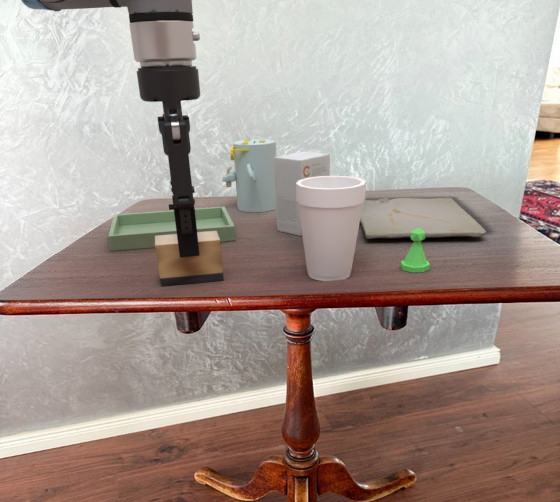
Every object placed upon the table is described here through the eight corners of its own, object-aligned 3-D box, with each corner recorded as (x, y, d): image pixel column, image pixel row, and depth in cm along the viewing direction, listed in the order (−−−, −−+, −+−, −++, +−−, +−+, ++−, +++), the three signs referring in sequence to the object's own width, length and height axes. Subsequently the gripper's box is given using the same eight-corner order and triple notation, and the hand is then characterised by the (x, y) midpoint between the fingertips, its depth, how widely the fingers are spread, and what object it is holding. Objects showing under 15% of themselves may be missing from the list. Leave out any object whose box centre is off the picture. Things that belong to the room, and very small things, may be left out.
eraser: (161, 286, 77) (154, 245, 74) (160, 275, 82) (154, 235, 79) (223, 280, 79) (220, 239, 76) (220, 269, 83) (216, 230, 80)
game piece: (410, 274, 79) (414, 233, 76) (394, 265, 82) (397, 226, 79) (435, 269, 80) (440, 229, 77) (418, 261, 84) (422, 222, 81)
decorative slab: (349, 207, 115) (349, 197, 114) (449, 204, 115) (450, 195, 114) (366, 245, 92) (366, 233, 91) (492, 242, 91) (494, 230, 90)
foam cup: (297, 285, 76) (296, 190, 70) (296, 264, 84) (295, 176, 78) (365, 284, 76) (370, 188, 69) (357, 262, 84) (361, 174, 77)
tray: (110, 251, 93) (107, 236, 92) (116, 228, 106) (113, 214, 105) (235, 240, 96) (234, 226, 95) (225, 219, 110) (224, 206, 108)
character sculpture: (229, 198, 126) (224, 135, 120) (278, 196, 126) (276, 134, 119) (220, 220, 109) (214, 148, 102) (277, 218, 109) (274, 146, 102)
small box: (304, 221, 106) (304, 150, 99) (329, 227, 102) (331, 153, 96) (275, 230, 101) (273, 156, 94) (301, 236, 97) (300, 159, 91)
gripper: (203, 63, 59) (221, 267, 70) (192, 63, 76) (208, 227, 87) (132, 65, 57) (162, 272, 69) (137, 65, 74) (160, 231, 86)
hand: (188, 247), depth 78 cm, fingers open, 7 cm apart
